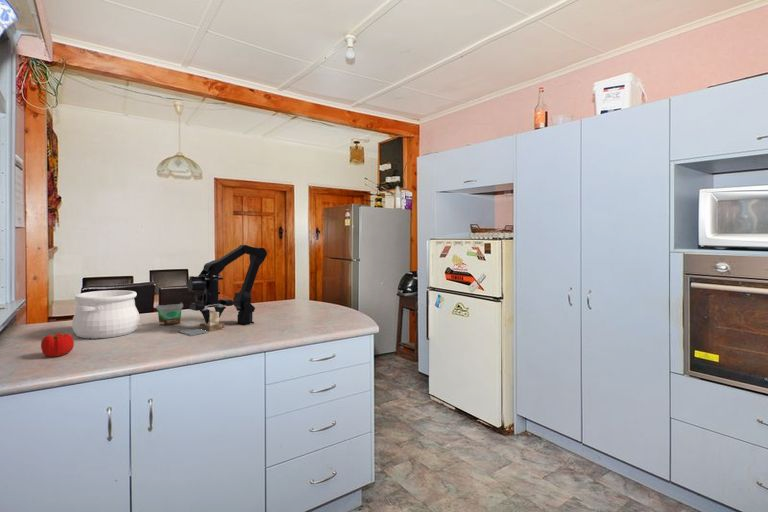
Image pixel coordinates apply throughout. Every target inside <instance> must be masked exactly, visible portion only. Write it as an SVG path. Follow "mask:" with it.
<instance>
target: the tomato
mask: <svg viewBox="0 0 768 512" xmlns="http://www.w3.org/2000/svg"><path fill="white" fill-rule="evenodd" d="M74 341H75V340H74V338H73V336H72V335H71V334H69V333H62V332H60V333H56V334H53V335H52V334H48V335H45V336H44V337H43V339H42V341H41V344H40V349H41V351H42V354H43V355H44V356H45V357H49V358H53V357H61V356H64V355H67V354H68V353H70V352H71V351H73V348H74V346H75V342H74Z"/></svg>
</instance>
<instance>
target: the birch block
mask: <svg viewBox="0 0 768 512" xmlns="http://www.w3.org/2000/svg"><path fill="white" fill-rule="evenodd" d="M219 322H220V318H219V312H216V311H215V310H212V311H210V312H209V321H208V324H206V322H205V321H204V323H205V325H209V326H211V325H216V324H219Z"/></svg>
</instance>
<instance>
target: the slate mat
mask: <svg viewBox="0 0 768 512" xmlns="http://www.w3.org/2000/svg"><path fill="white" fill-rule="evenodd" d="M179 332H180V333H179ZM206 332H208V331H205V330H201V329H199V328H198V327H195V328H194V327H193V328H188V329H183V330H182V329H181V330H179V331H178V333H179V334H182V333H184V334H183V335H185V334H187V335H186V336H189V335H191V336H190V337H193V336H192V335H194V336H198V335H197V334H199V335H203V334H202V333H204V334H207V333H206ZM208 333H209V332H208Z"/></svg>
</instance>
